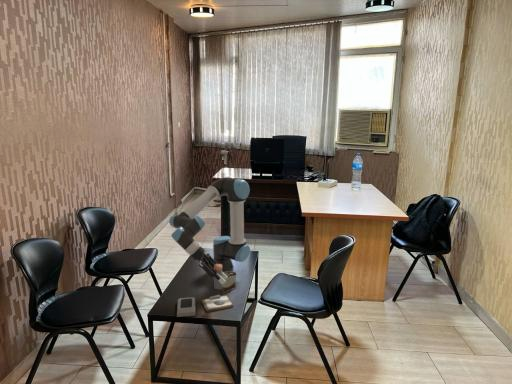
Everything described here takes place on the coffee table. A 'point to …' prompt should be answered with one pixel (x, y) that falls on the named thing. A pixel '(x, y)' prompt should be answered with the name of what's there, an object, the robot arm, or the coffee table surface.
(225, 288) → the food container
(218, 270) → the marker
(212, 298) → the clipboard
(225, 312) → the coffee table surface
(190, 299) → the grey framed panel
